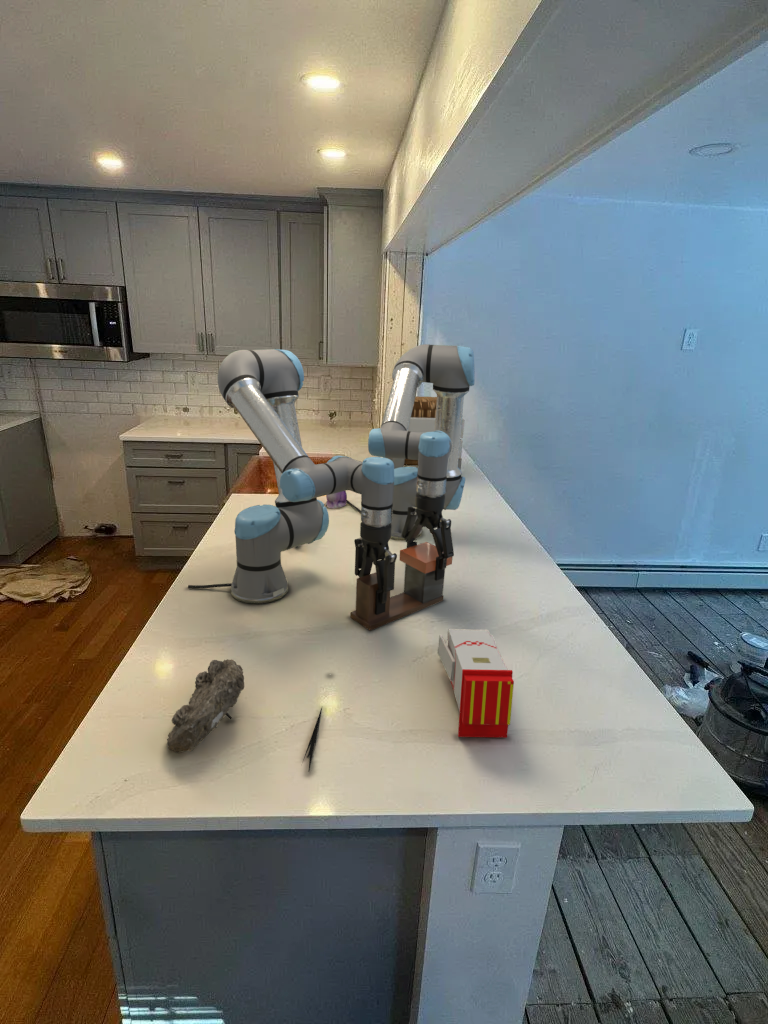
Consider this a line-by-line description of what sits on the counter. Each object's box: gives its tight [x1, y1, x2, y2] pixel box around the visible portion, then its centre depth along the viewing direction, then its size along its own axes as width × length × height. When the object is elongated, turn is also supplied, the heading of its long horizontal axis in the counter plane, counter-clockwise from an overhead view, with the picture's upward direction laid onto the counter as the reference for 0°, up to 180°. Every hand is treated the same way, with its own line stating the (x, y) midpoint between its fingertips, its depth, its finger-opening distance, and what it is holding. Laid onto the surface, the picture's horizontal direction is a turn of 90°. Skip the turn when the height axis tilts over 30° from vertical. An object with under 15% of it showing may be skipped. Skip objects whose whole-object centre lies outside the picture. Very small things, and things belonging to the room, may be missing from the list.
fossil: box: [166, 658, 245, 754], centre depth 106 cm, size 22×10×15 cm
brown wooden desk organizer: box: [349, 563, 446, 632], centre depth 148 cm, size 8×26×12 cm, turn 131°
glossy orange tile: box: [398, 541, 453, 574], centre depth 152 cm, size 10×10×4 cm
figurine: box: [325, 490, 348, 509], centre depth 223 cm, size 9×10×15 cm
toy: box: [437, 628, 515, 738], centre depth 117 cm, size 12×13×30 cm
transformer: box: [388, 395, 465, 471], centre depth 268 cm, size 34×33×41 cm
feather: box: [301, 673, 332, 771], centre depth 108 cm, size 2×28×2 cm
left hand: (372, 607), depth 143 cm, fingers closed on brown wooden desk organizer, 5 cm apart
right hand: (424, 571), depth 153 cm, fingers closed on glossy orange tile, 10 cm apart
